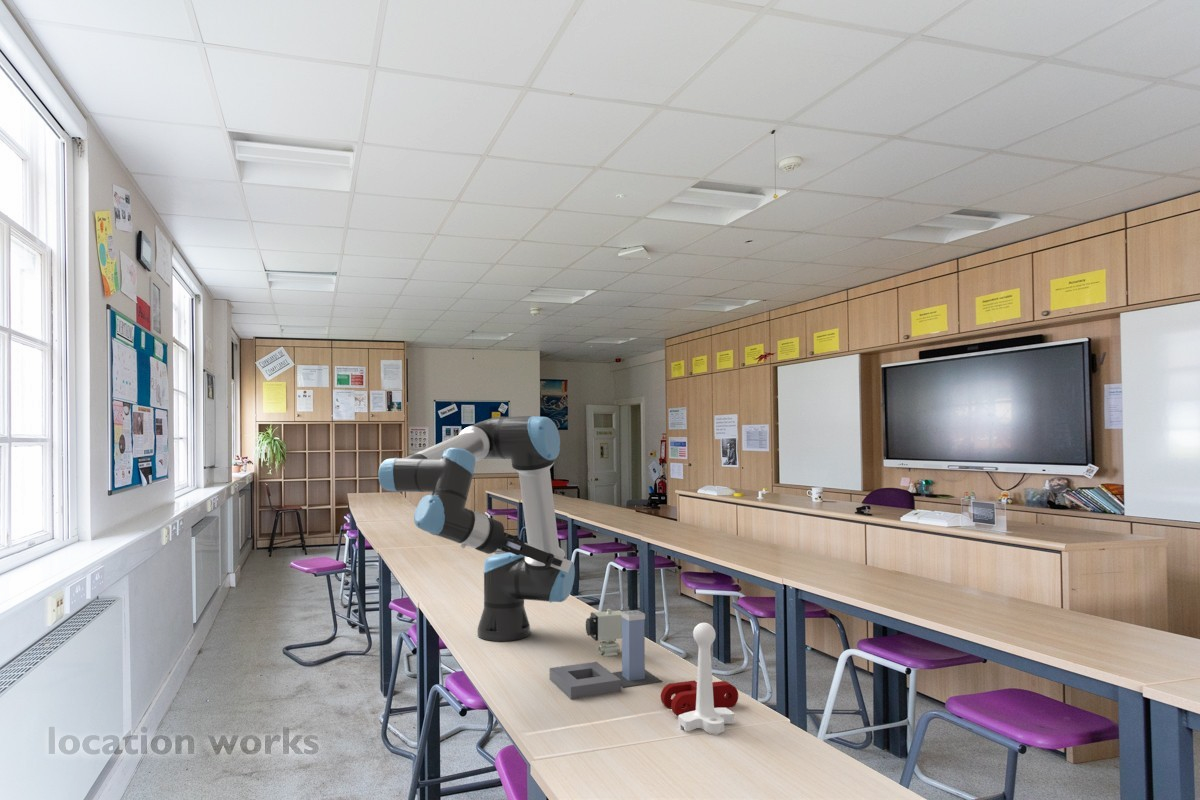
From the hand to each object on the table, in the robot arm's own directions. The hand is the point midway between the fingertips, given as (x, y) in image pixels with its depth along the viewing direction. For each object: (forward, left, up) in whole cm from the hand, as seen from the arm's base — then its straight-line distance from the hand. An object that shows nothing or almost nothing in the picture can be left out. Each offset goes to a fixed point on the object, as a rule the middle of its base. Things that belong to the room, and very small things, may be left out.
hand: (553, 560), depth 171 cm
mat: (+8, +17, -28) cm, 34 cm away
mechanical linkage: (+30, +23, -28) cm, 47 cm away
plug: (+8, +17, -27) cm, 33 cm away
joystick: (+39, +19, -28) cm, 52 cm away
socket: (+8, +5, -28) cm, 29 cm away
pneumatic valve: (-12, +20, -28) cm, 36 cm away
